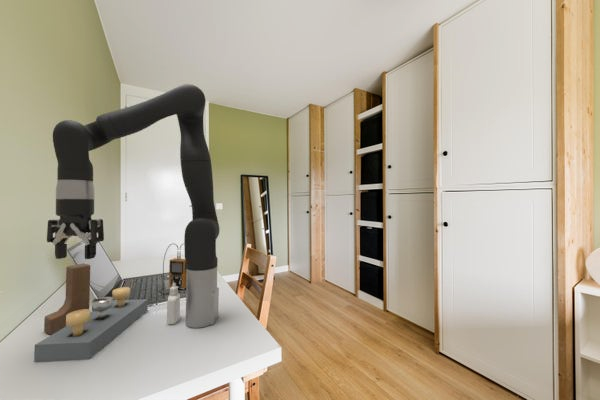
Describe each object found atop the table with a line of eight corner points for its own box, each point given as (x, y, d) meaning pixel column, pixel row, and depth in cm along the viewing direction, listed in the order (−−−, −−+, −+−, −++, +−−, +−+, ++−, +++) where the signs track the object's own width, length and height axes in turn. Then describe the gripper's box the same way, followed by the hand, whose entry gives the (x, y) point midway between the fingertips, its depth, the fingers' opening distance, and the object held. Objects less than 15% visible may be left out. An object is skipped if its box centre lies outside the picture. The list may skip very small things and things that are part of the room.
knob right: (132, 305, 80) (133, 286, 81) (123, 311, 76) (124, 291, 76) (118, 305, 80) (118, 287, 80) (108, 311, 75) (109, 292, 76)
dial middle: (115, 317, 72) (116, 295, 72) (104, 324, 67) (105, 301, 68) (99, 317, 72) (100, 296, 72) (87, 325, 67) (88, 302, 67)
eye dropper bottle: (185, 317, 78) (186, 281, 79) (172, 325, 73) (173, 286, 73) (174, 315, 79) (175, 279, 80) (160, 324, 74) (161, 285, 74)
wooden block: (49, 335, 67) (51, 271, 67) (43, 331, 69) (45, 269, 69) (89, 321, 75) (91, 264, 75) (82, 318, 77) (84, 263, 77)
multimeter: (148, 295, 97) (149, 246, 98) (165, 286, 107) (166, 242, 108) (180, 297, 95) (181, 247, 95) (195, 289, 105) (196, 243, 105)
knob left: (94, 332, 64) (95, 308, 64) (80, 341, 59) (80, 316, 59) (75, 332, 63) (76, 309, 63) (60, 342, 59) (60, 317, 59)
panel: (147, 310, 83) (147, 299, 83) (89, 359, 57) (89, 342, 57) (110, 312, 82) (110, 300, 82) (34, 361, 56) (34, 344, 56)
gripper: (112, 197, 67) (112, 255, 66) (67, 198, 68) (66, 255, 68) (85, 197, 59) (85, 262, 59) (35, 197, 61) (34, 261, 60)
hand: (75, 258), depth 63 cm, fingers open, 8 cm apart
